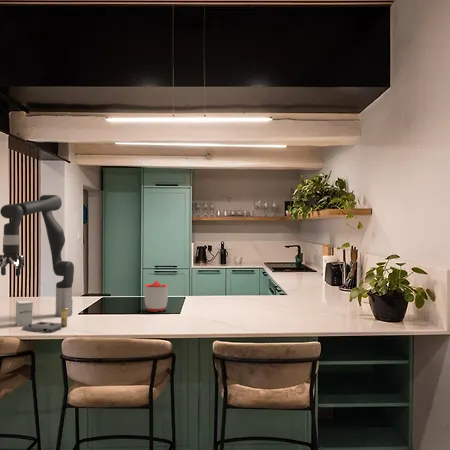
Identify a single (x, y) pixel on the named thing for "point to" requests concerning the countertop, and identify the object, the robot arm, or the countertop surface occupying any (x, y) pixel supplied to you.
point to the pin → (64, 317)
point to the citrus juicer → (156, 296)
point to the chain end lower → (32, 328)
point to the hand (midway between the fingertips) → (10, 275)
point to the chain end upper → (47, 326)
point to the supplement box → (24, 312)
